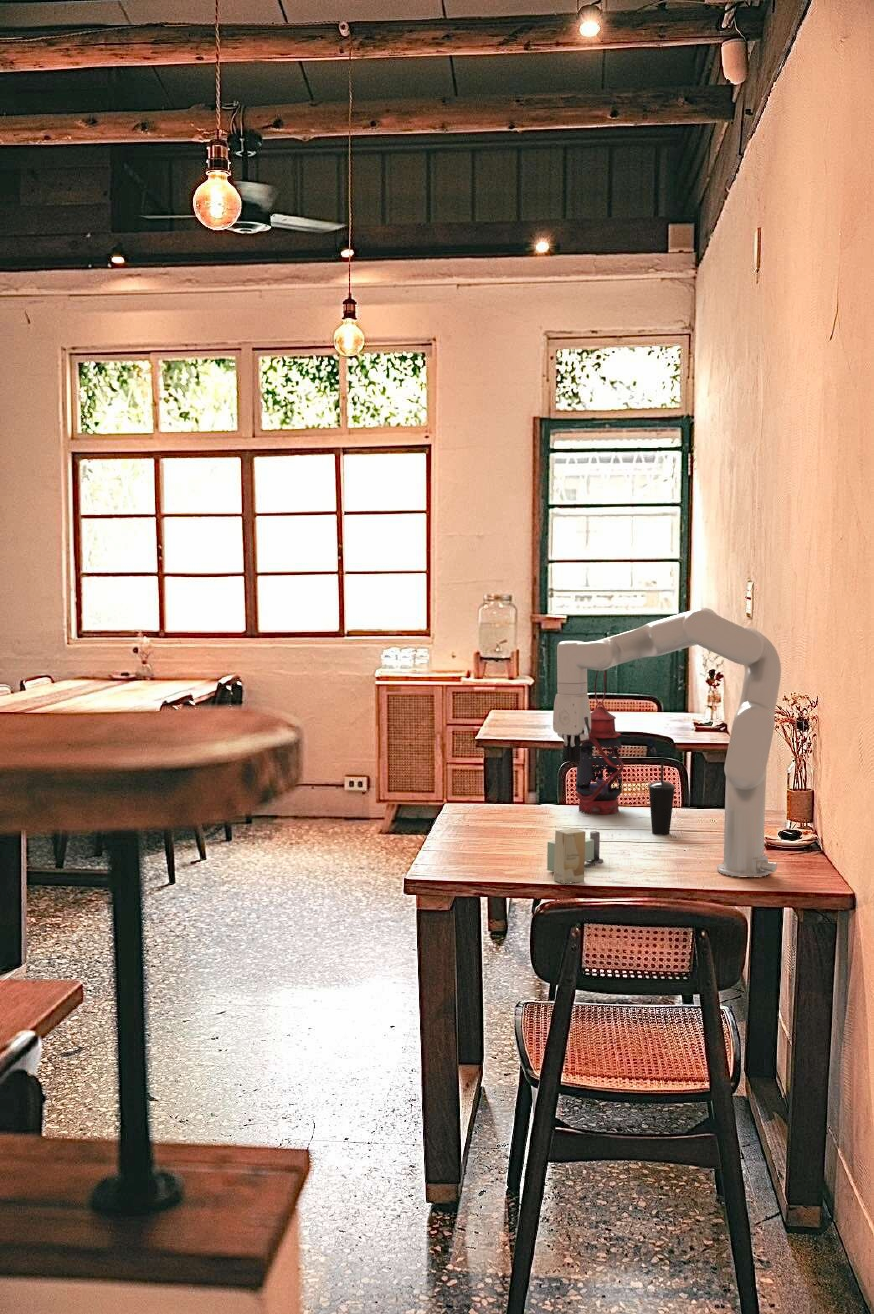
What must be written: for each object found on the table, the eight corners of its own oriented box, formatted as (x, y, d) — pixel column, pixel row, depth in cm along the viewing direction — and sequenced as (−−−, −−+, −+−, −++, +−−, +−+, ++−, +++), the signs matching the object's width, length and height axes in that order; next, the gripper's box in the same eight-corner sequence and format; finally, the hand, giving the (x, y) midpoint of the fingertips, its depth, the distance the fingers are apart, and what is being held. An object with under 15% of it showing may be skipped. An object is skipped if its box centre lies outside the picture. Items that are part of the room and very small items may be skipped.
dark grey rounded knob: (606, 861, 309) (607, 832, 308) (595, 864, 306) (596, 835, 305) (593, 858, 312) (593, 829, 311) (582, 861, 309) (582, 832, 308)
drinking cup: (674, 837, 338) (676, 765, 336) (646, 835, 339) (648, 764, 338) (674, 831, 345) (676, 761, 344) (647, 830, 347) (648, 760, 345)
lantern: (583, 804, 384) (585, 662, 381) (628, 808, 378) (631, 664, 375) (569, 813, 369) (571, 666, 366) (616, 817, 364) (618, 668, 361)
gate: (586, 859, 308) (587, 832, 308) (594, 861, 307) (595, 834, 306) (547, 870, 297) (547, 842, 297) (555, 872, 296) (555, 843, 295)
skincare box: (564, 885, 286) (565, 833, 285) (553, 881, 289) (553, 830, 288) (585, 881, 289) (586, 830, 288) (574, 877, 293) (575, 827, 292)
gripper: (542, 688, 311) (542, 759, 312) (581, 692, 299) (581, 766, 300) (564, 686, 316) (565, 756, 317) (603, 690, 303) (604, 763, 304)
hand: (573, 761), depth 308 cm, fingers closed
